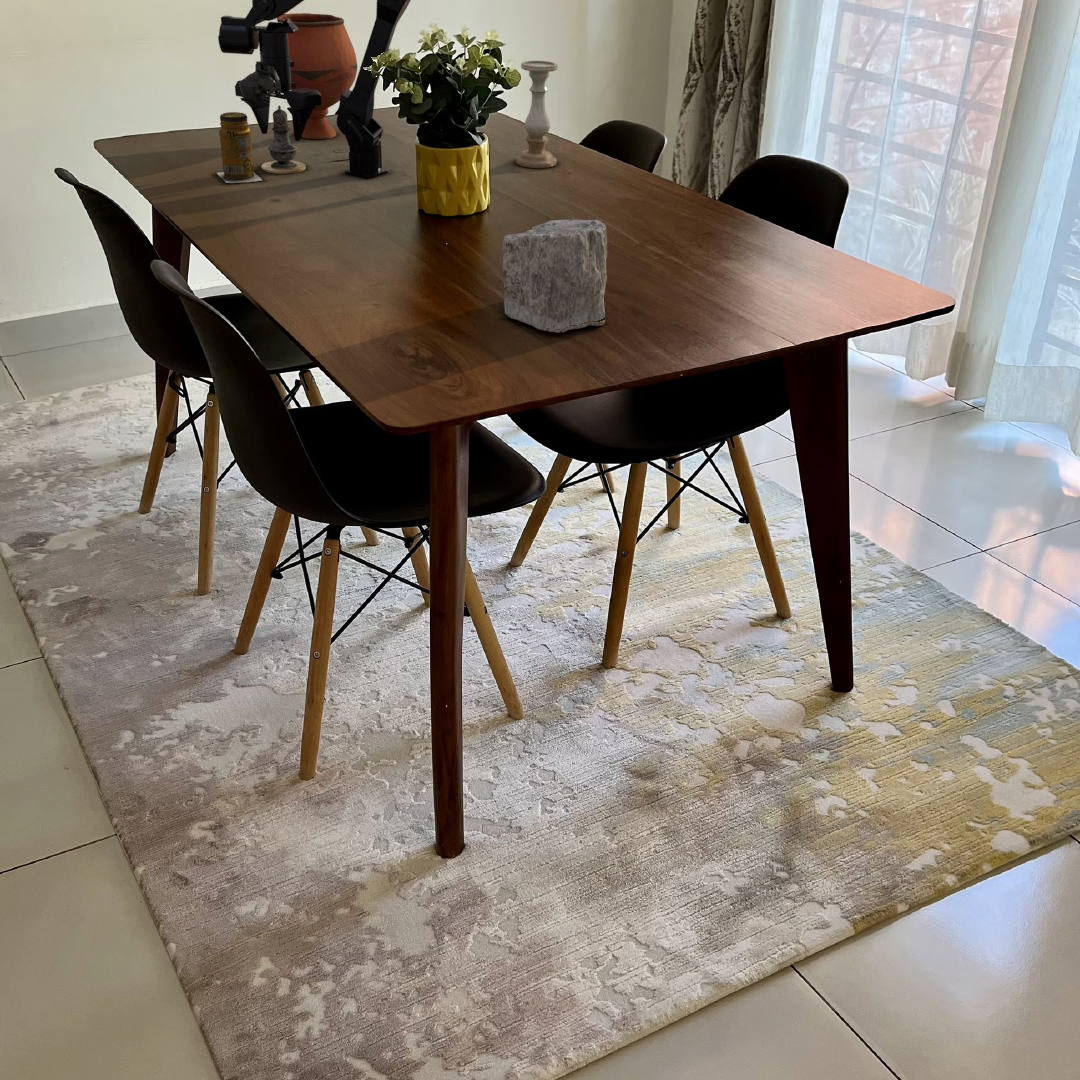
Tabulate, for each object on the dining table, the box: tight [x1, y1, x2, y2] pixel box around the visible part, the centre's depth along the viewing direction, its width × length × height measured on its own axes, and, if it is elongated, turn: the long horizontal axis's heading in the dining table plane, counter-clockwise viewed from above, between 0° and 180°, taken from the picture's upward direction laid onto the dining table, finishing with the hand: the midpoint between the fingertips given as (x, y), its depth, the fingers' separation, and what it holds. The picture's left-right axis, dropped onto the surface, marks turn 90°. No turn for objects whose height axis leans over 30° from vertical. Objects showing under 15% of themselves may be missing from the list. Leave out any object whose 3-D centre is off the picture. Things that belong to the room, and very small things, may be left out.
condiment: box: [216, 111, 263, 184], centre depth 235 cm, size 7×8×12 cm
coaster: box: [260, 160, 307, 175], centre depth 245 cm, size 9×9×1 cm
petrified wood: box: [501, 219, 608, 333], centre depth 176 cm, size 19×17×15 cm
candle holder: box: [515, 60, 559, 169], centre depth 250 cm, size 9×9×20 cm
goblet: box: [276, 12, 358, 140], centre depth 264 cm, size 19×19×25 cm
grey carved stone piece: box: [267, 104, 298, 169], centre depth 242 cm, size 6×6×12 cm
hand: (281, 137), depth 242 cm, fingers open, 9 cm apart
